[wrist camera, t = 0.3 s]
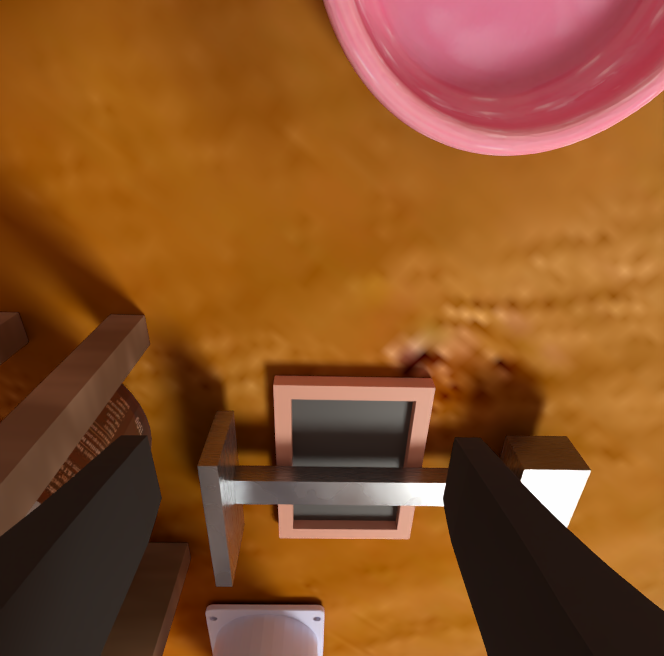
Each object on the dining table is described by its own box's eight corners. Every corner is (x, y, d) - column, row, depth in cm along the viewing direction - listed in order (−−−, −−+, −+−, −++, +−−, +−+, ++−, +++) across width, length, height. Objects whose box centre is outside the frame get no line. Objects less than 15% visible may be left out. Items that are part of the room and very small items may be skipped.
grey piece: (529, 527, 25) (558, 588, 21) (230, 524, 24) (216, 586, 21) (569, 416, 21) (611, 471, 18) (216, 410, 20) (197, 465, 17)
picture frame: (406, 527, 26) (409, 539, 25) (280, 526, 26) (279, 538, 25) (431, 378, 21) (435, 387, 20) (274, 375, 21) (273, 385, 20)
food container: (92, 536, 26) (-28, 760, 17) (-5, 483, 24) (-200, 708, 15) (225, 426, 22) (158, 641, 13) (123, 352, 20) (-36, 549, 11)
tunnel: (190, 558, 27) (73, 954, 14) (78, 557, 27) (-140, 958, 14) (144, 315, 19) (-201, 720, 7) (-16, 311, 19) (-686, 722, 6)
